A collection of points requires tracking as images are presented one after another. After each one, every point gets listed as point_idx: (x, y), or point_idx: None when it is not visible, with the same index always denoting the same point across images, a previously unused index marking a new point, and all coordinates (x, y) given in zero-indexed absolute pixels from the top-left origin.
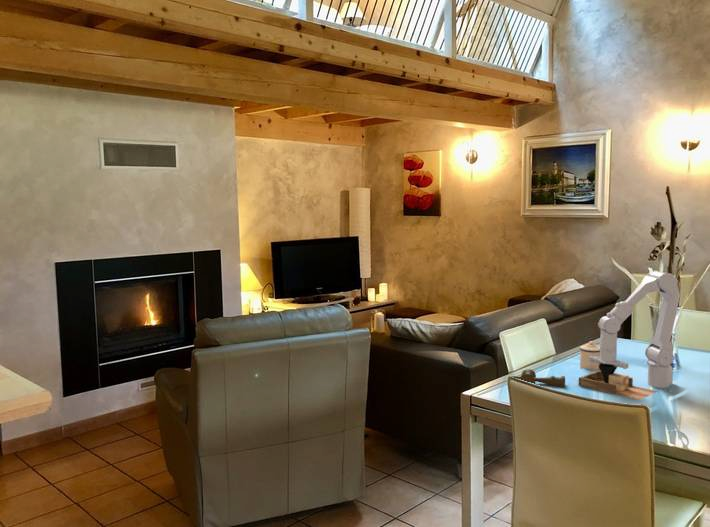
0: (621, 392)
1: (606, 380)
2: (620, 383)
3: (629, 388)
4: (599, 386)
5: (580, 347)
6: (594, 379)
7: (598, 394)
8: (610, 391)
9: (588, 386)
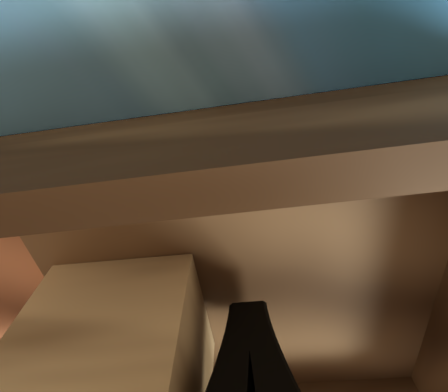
0: (22, 240)
1: (240, 338)
2: (18, 340)
3: None
4: (197, 137)
5: None
6: (429, 346)
7: (170, 41)
8: (41, 146)
9: (382, 99)
